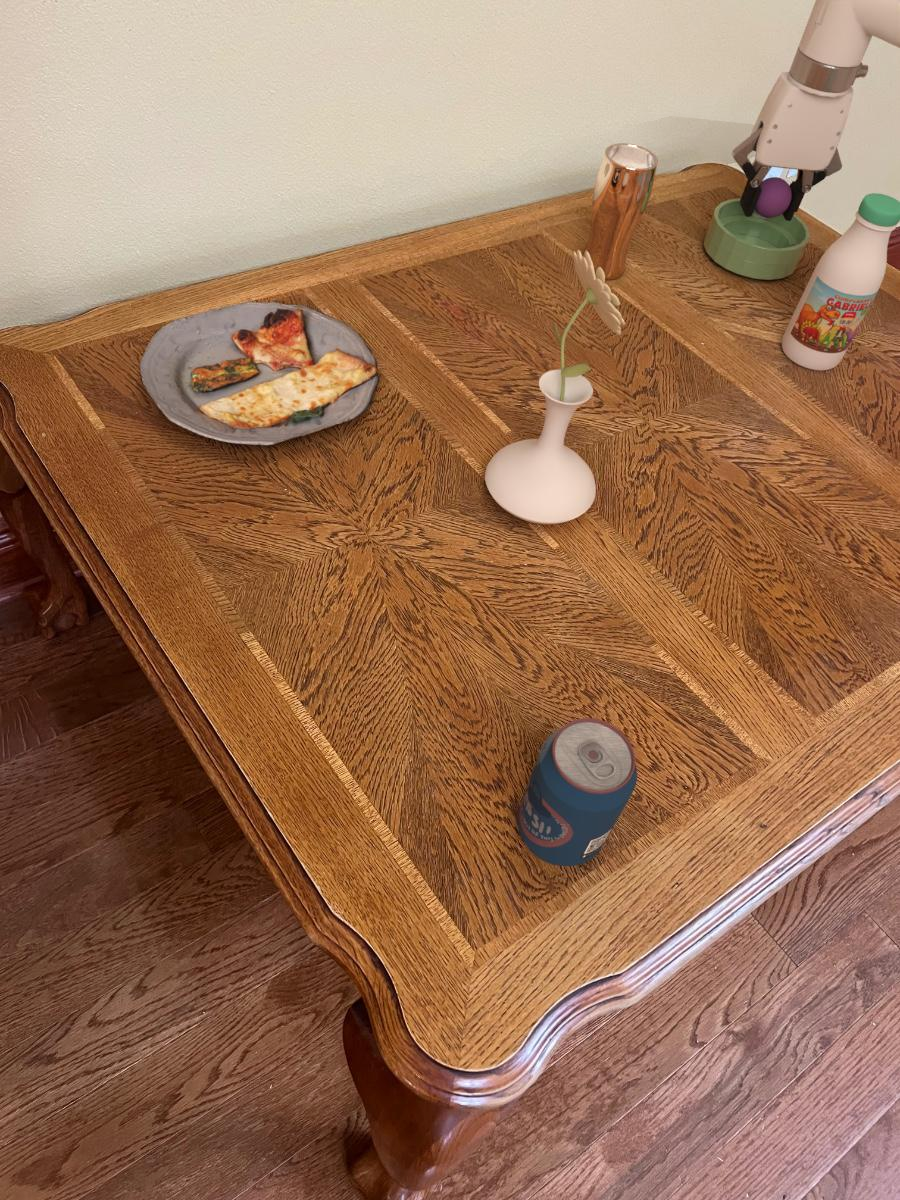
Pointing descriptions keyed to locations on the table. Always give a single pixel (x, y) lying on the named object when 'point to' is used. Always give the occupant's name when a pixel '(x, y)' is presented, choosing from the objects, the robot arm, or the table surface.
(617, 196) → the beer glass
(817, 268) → the milk bottle
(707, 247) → the bowl
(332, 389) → the food plate
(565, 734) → the soda can
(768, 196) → the ball
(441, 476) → the table surface
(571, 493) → the flower in vase
